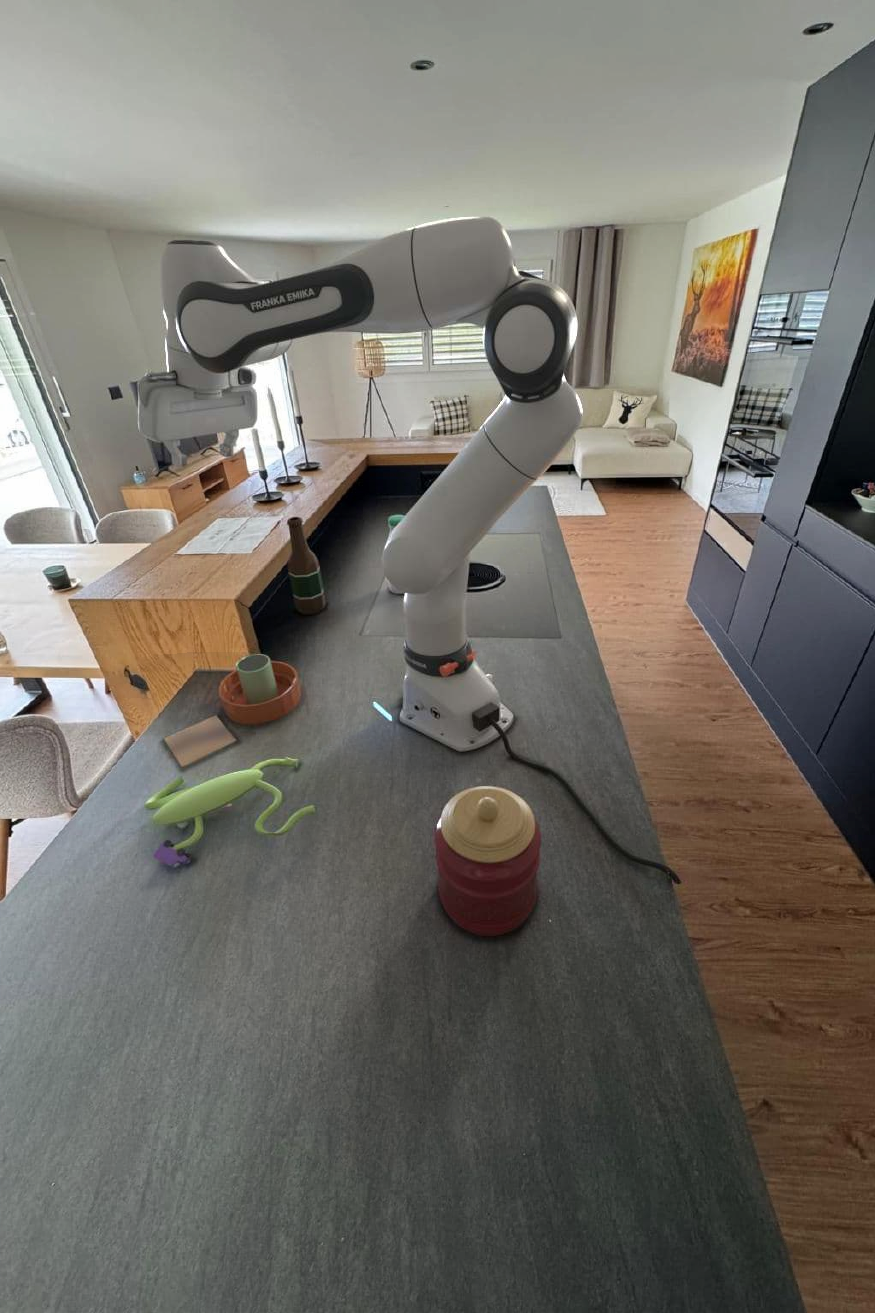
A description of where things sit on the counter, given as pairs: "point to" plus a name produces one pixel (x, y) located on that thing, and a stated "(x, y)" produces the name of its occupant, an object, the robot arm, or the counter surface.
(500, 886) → the kitchen canister
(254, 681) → the cup
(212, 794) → the figurine
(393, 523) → the milk bottle
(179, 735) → the coaster
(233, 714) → the bowl
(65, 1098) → the counter surface
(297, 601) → the beer bottle
